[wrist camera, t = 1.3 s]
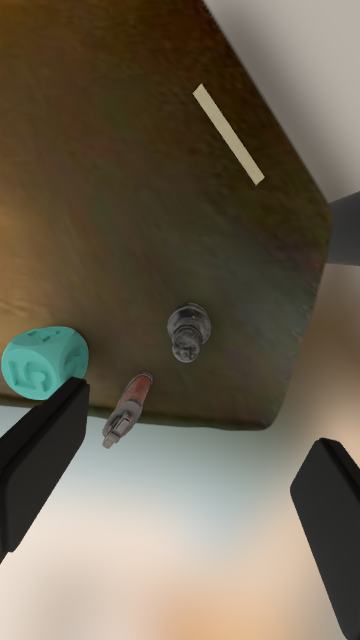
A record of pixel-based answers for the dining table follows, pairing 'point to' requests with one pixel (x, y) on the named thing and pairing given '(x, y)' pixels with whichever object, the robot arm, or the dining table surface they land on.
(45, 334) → the decorative dice
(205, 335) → the dark grey chess piece
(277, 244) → the dining table surface
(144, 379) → the lighter
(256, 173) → the beige long thin bar
